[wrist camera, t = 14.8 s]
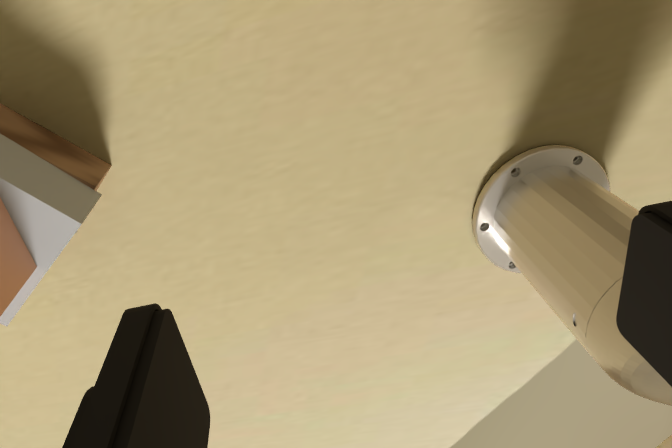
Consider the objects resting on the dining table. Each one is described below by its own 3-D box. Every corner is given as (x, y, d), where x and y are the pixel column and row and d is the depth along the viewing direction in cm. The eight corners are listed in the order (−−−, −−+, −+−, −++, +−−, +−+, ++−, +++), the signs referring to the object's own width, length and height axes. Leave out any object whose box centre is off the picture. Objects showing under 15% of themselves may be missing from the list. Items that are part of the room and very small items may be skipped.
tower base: (112, 163, 39) (96, 186, 35) (57, 255, 42) (36, 286, 38) (-23, 88, 35) (-59, 104, 31) (-73, 195, 38) (-111, 222, 34)
